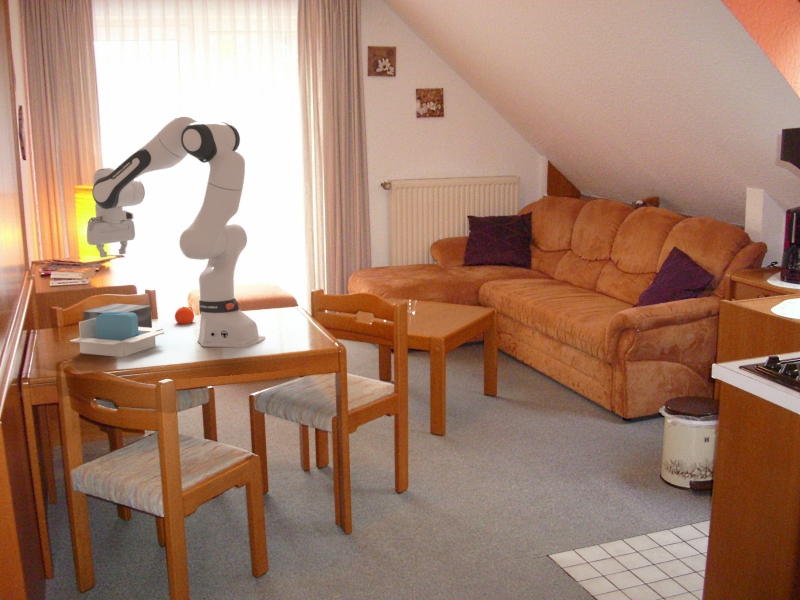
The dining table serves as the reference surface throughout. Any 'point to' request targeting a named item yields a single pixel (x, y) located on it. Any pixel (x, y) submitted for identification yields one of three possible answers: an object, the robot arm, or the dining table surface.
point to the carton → (114, 341)
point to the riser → (140, 310)
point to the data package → (117, 325)
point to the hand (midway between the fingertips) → (113, 255)
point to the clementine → (184, 315)
